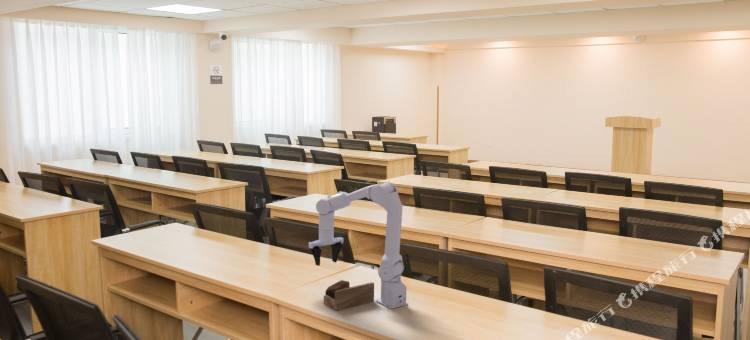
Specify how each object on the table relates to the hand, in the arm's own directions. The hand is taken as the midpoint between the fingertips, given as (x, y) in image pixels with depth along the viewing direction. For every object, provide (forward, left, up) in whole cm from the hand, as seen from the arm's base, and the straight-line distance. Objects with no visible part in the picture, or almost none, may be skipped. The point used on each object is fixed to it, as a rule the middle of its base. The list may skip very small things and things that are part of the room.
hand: (326, 263), depth 227 cm
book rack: (-16, 0, -10) cm, 19 cm away
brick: (-9, 0, -11) cm, 14 cm away
